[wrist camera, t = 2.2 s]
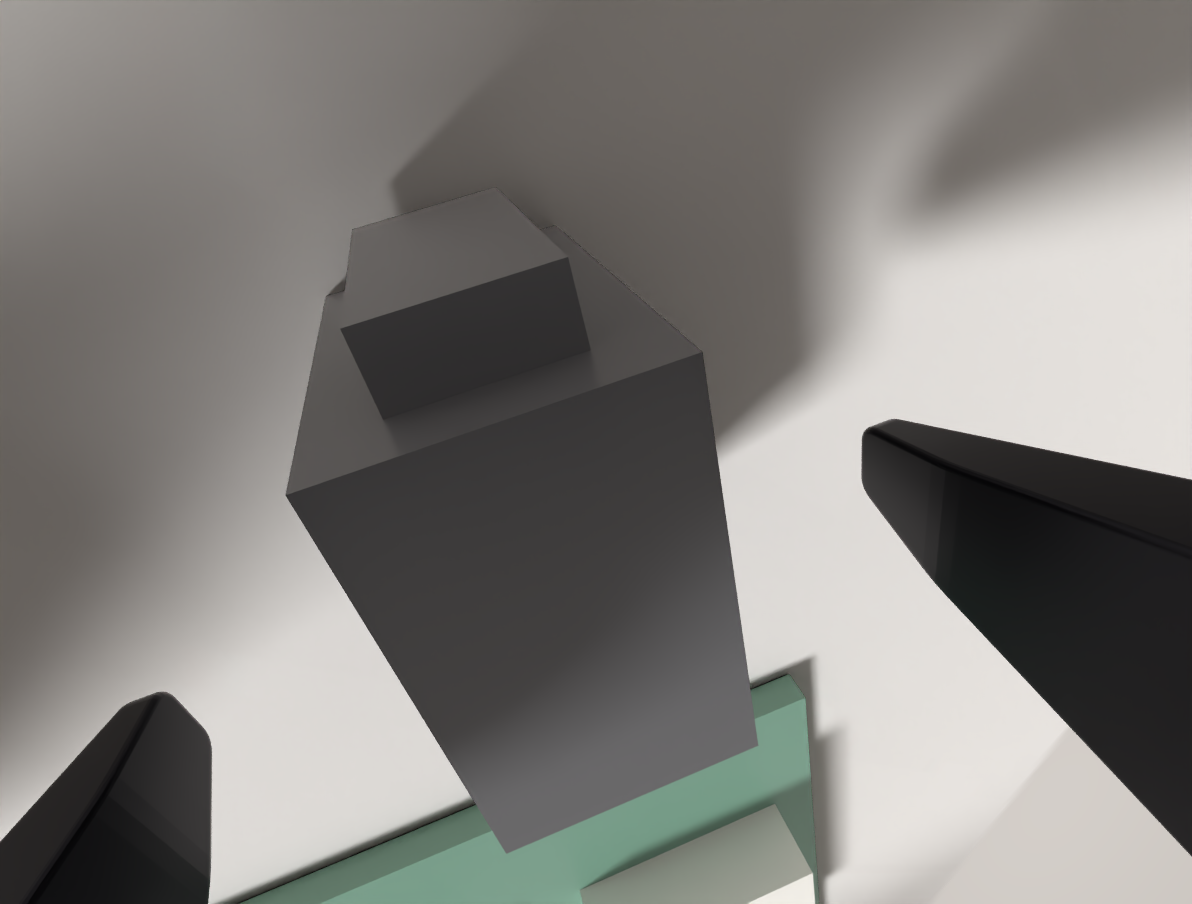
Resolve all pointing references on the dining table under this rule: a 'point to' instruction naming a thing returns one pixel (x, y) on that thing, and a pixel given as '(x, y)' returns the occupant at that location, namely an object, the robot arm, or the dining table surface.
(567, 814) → the plug
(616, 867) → the board
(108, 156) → the dining table surface
